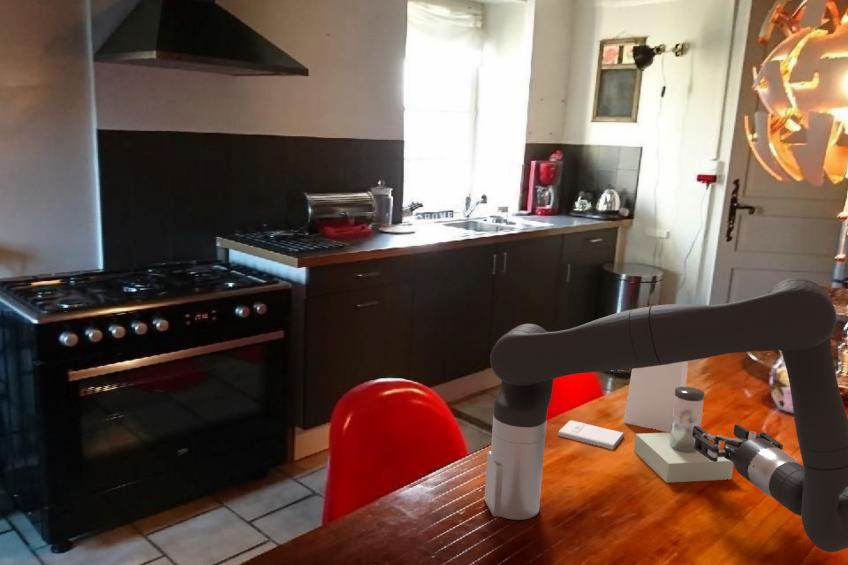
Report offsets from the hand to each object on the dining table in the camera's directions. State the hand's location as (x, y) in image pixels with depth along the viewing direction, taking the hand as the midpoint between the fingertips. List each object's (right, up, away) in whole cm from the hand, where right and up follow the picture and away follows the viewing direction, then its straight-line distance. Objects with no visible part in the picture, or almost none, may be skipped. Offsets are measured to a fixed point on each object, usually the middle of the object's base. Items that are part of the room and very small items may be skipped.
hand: (715, 429), depth 135 cm
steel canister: (-2, -6, +11) cm, 13 cm away
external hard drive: (-18, -7, +24) cm, 31 cm away
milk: (0, -5, +35) cm, 36 cm away
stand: (-2, -10, +12) cm, 15 cm away
